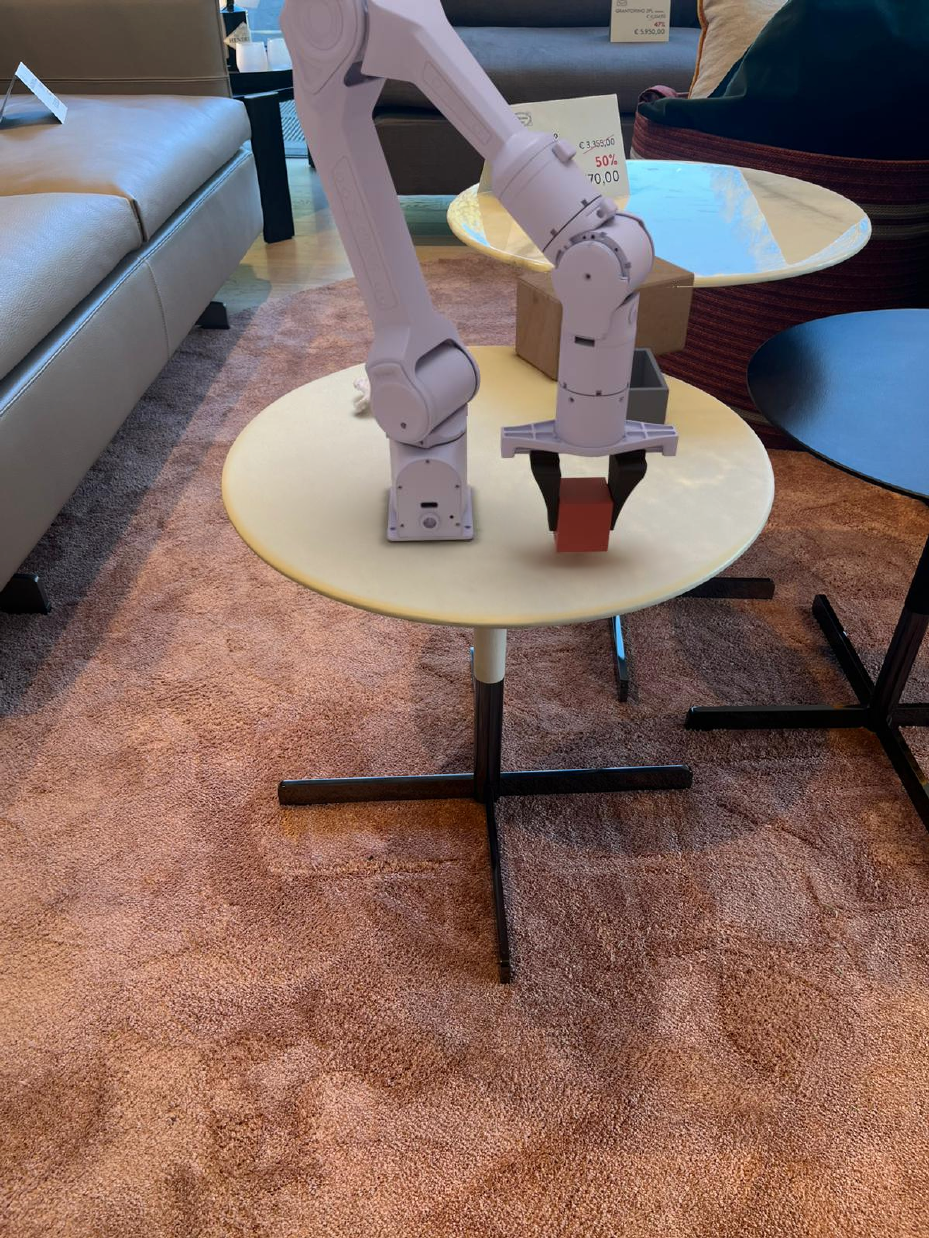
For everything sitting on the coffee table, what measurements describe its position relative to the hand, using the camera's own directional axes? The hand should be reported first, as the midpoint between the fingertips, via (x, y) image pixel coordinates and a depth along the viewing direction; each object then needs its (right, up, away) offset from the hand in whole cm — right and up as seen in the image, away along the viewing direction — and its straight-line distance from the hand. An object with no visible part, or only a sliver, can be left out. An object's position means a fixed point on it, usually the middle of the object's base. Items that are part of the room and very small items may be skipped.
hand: (580, 525), depth 82 cm
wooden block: (-2, +27, +31) cm, 41 cm away
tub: (+7, +15, +24) cm, 29 cm away
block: (0, -1, +1) cm, 1 cm away
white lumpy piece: (-19, +16, +26) cm, 36 cm away
